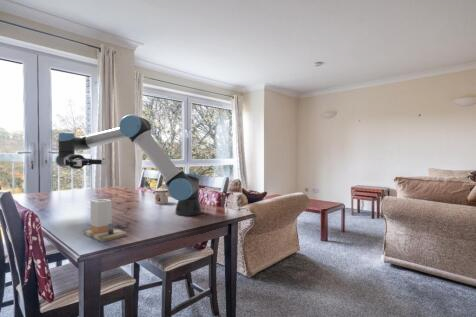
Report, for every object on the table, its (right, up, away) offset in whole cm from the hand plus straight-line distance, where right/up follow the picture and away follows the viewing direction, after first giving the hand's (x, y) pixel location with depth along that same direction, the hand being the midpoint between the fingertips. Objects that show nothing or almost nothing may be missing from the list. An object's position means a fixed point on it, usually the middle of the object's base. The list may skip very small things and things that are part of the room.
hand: (95, 163), depth 133 cm
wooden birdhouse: (+17, -29, +55) cm, 65 cm away
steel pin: (+16, -29, -18) cm, 38 cm away
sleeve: (+10, -29, -14) cm, 34 cm away
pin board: (+12, -31, -16) cm, 36 cm away
